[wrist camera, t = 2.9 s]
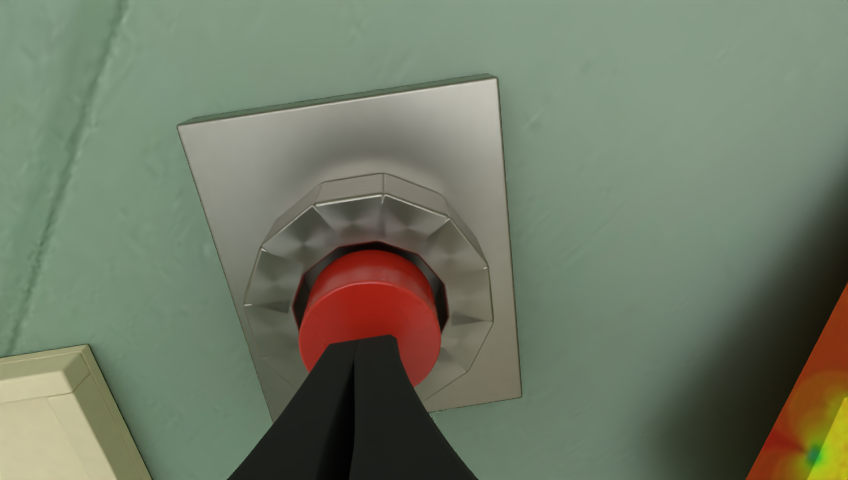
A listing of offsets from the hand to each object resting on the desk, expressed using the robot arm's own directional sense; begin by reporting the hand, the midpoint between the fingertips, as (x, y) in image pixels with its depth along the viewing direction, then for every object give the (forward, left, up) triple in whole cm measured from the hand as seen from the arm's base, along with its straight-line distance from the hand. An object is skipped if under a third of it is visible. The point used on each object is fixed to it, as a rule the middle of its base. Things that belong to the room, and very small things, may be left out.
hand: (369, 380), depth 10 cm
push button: (0, 0, -3) cm, 3 cm away
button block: (0, 0, -6) cm, 6 cm away
